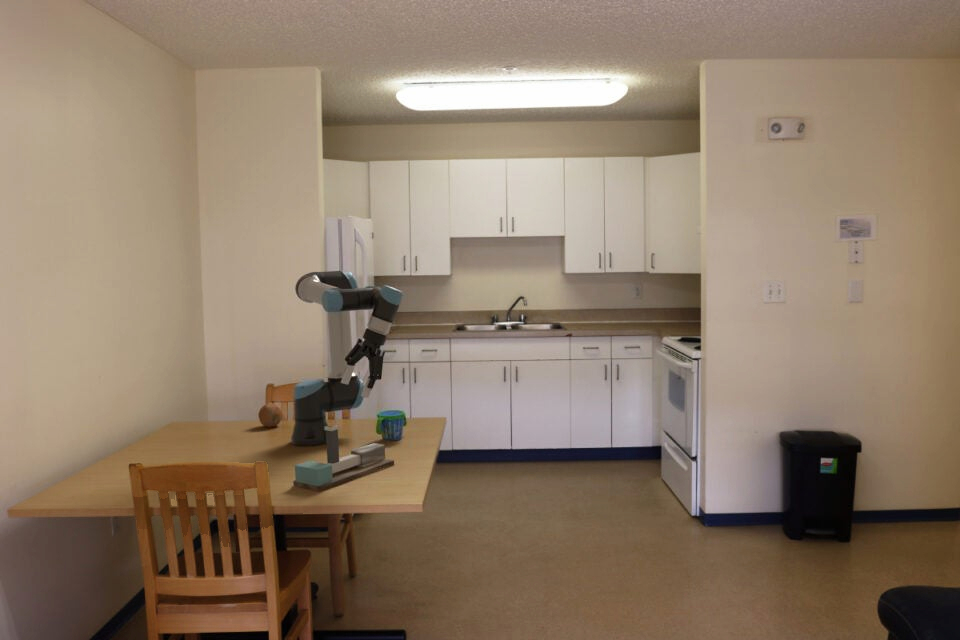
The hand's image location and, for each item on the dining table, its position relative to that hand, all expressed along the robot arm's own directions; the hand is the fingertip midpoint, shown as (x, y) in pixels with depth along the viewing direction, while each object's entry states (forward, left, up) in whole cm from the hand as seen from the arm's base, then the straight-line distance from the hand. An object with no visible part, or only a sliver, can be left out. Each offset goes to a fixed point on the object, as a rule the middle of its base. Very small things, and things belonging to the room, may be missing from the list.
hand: (354, 390), depth 260 cm
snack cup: (-14, +34, -26) cm, 45 cm away
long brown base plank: (+5, -10, -26) cm, 28 cm away
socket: (+5, -24, -24) cm, 34 cm away
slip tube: (+5, -12, -23) cm, 27 cm away
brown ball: (-74, +26, -26) cm, 83 cm away
